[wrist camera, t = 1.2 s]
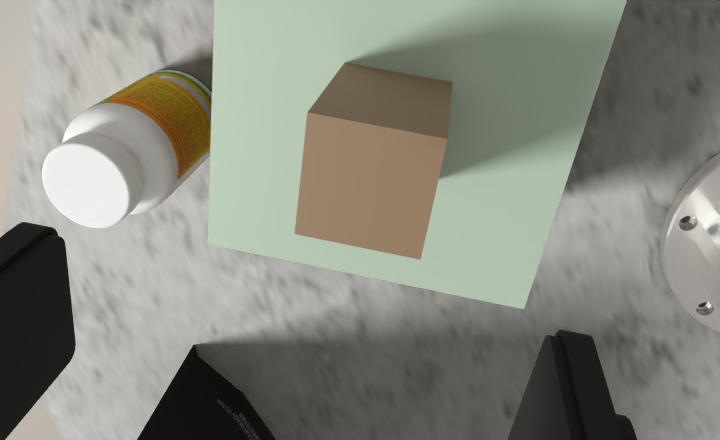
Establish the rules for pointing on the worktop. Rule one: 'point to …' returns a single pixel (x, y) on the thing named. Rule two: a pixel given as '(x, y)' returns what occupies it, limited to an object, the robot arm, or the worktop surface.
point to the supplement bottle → (130, 149)
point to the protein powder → (203, 408)
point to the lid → (402, 133)
